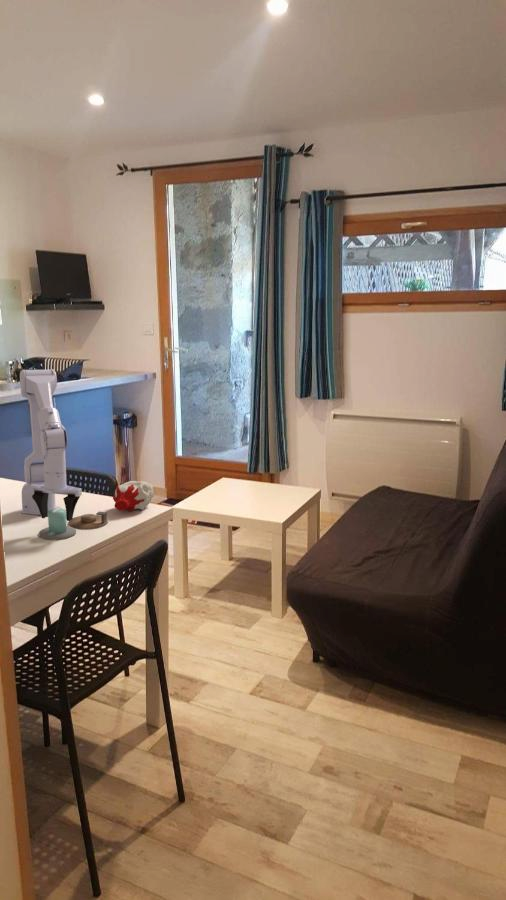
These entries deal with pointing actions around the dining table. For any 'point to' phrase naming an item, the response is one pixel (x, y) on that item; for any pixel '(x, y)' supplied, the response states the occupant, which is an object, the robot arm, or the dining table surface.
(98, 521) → the tan wide-brim hat
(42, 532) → the coaster
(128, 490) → the multicoloured piece
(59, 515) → the kettle
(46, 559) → the dining table surface
